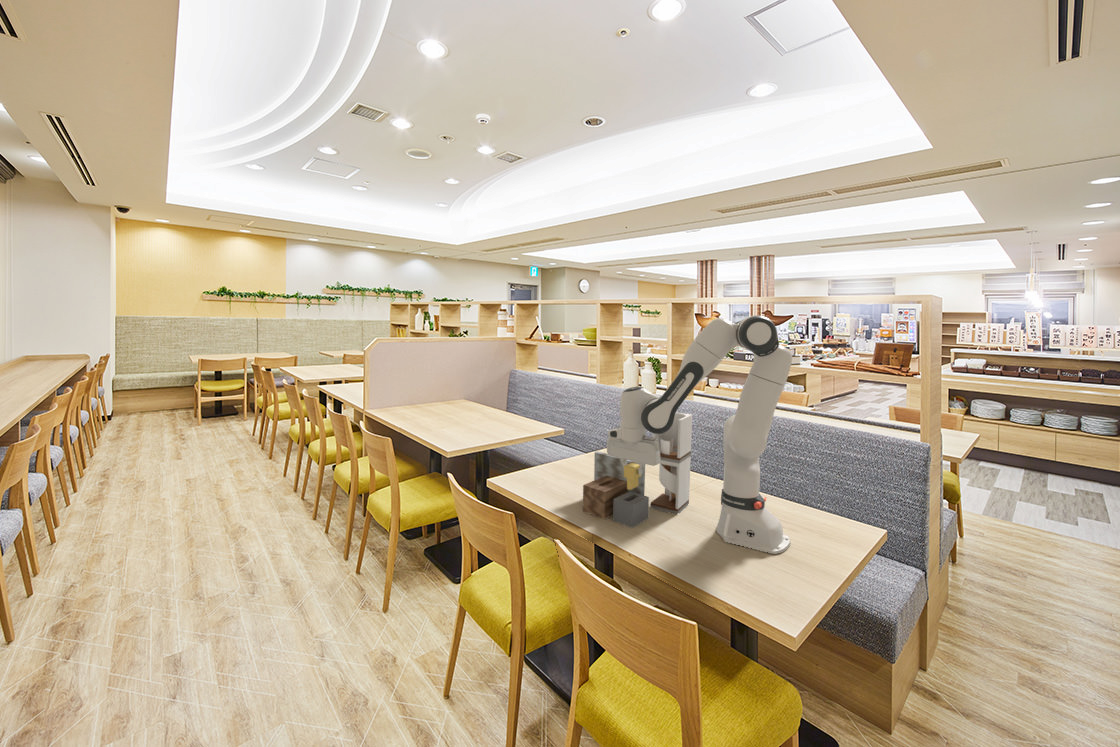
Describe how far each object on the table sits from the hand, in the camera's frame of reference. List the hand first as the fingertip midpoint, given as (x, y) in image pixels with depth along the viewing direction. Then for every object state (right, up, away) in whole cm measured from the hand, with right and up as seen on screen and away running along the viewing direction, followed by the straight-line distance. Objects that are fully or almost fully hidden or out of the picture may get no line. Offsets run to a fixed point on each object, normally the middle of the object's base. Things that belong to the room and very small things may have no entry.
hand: (632, 472), depth 165 cm
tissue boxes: (-9, -16, +11) cm, 21 cm away
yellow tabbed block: (0, -5, +1) cm, 5 cm away
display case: (+16, -16, +14) cm, 27 cm away
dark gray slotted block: (0, -17, +2) cm, 17 cm away
